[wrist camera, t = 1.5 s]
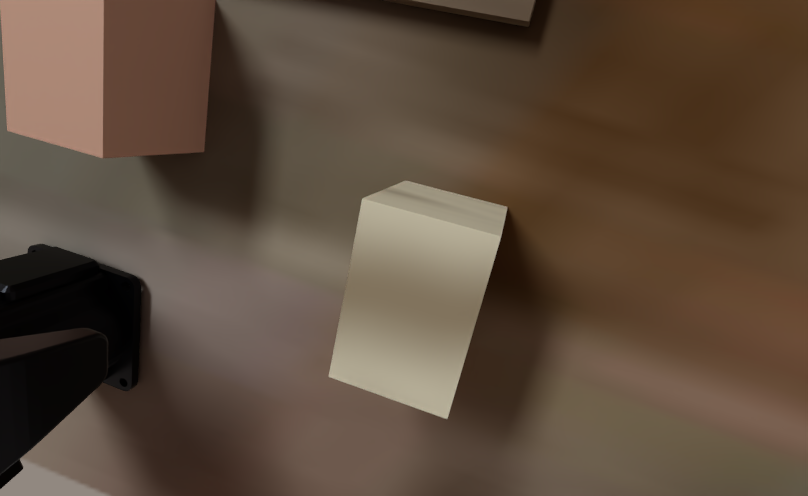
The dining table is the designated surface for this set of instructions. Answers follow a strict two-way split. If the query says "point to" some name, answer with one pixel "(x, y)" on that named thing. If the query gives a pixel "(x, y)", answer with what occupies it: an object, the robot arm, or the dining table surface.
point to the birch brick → (415, 293)
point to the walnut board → (481, 9)
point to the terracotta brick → (109, 74)
